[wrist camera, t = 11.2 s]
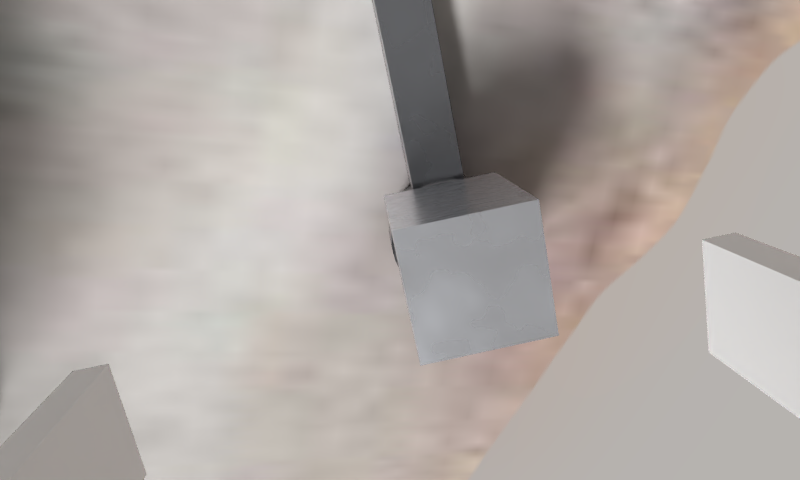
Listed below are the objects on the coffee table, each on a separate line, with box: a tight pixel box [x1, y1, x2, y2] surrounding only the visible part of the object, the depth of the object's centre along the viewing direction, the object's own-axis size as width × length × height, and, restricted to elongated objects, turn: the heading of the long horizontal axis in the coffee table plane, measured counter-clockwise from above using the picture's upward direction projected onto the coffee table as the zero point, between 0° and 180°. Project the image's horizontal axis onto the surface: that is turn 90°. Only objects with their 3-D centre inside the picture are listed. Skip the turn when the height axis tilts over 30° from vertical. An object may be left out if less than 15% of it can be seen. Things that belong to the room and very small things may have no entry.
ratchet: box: [372, 0, 466, 267], centre depth 29 cm, size 6×27×8 cm, turn 12°
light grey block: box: [384, 172, 559, 365], centre depth 29 cm, size 6×6×8 cm
